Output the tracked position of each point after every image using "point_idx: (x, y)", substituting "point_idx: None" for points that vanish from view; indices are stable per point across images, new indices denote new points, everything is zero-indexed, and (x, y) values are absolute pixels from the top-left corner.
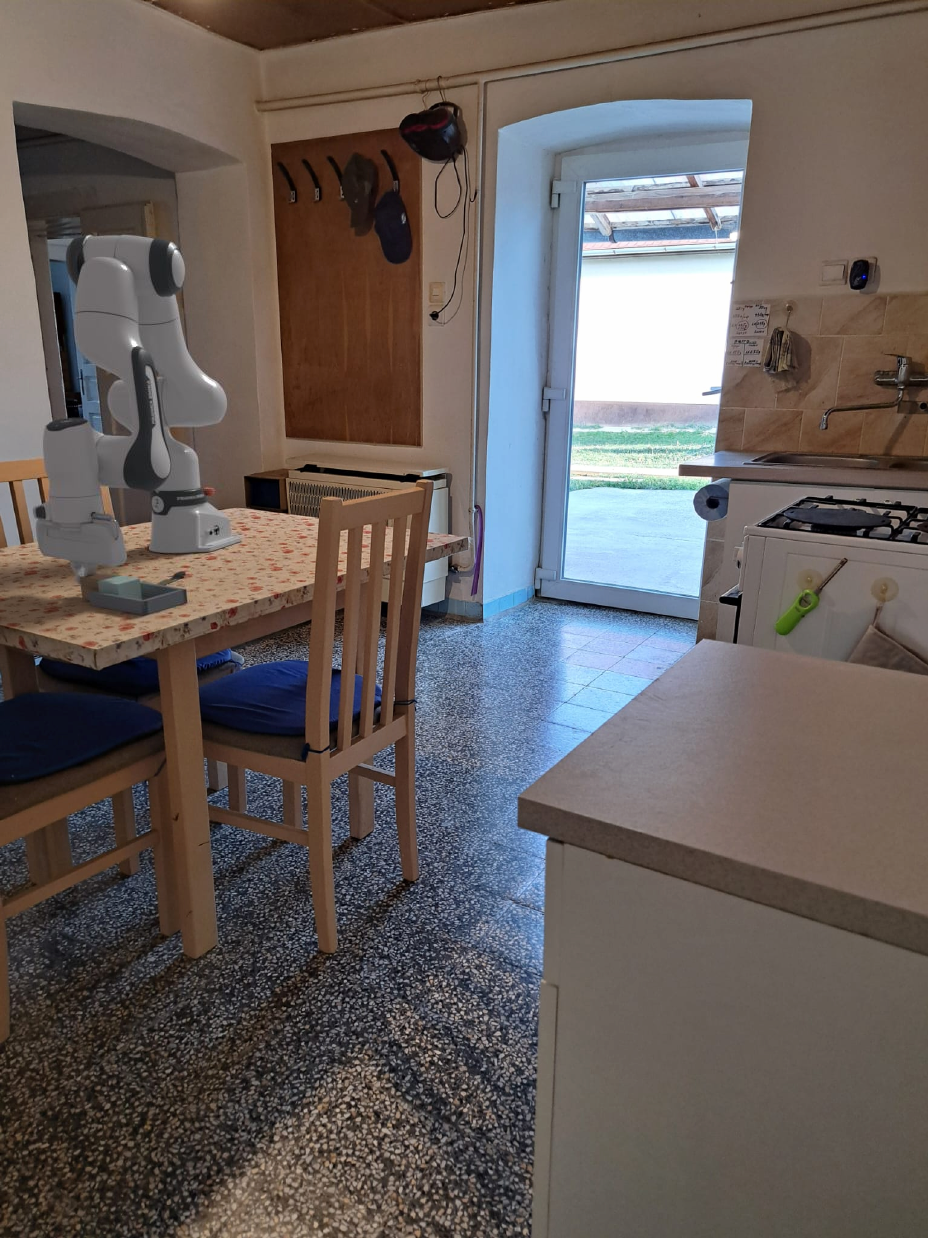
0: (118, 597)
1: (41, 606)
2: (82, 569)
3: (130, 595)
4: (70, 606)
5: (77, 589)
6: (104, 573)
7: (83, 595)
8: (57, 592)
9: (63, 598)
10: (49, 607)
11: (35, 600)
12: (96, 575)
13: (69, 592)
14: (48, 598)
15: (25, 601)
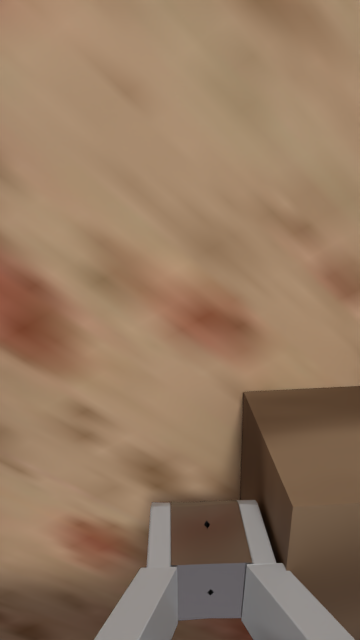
0: None
1: (186, 635)
2: (153, 628)
3: None
4: None
5: (27, 416)
6: (353, 523)
7: None
8: (5, 501)
9: (147, 544)
10: (228, 629)
11: (73, 608)
12: (343, 588)
13: (58, 473)
14: (87, 571)
15: (55, 630)
